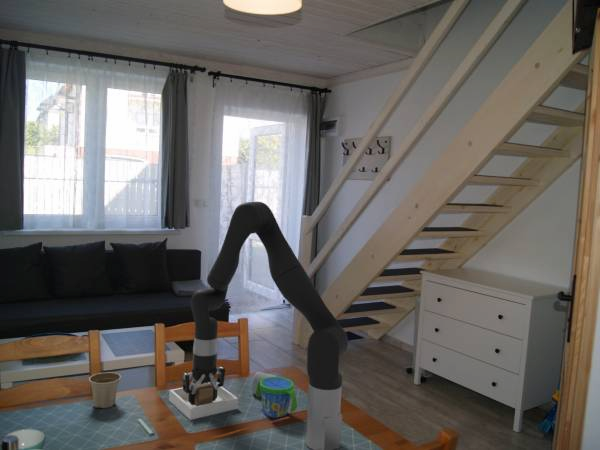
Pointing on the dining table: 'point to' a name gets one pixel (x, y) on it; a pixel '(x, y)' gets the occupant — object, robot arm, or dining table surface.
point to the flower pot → (104, 388)
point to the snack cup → (276, 396)
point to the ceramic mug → (257, 378)
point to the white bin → (221, 404)
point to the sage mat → (145, 427)
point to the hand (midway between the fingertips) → (202, 402)
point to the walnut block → (204, 394)
